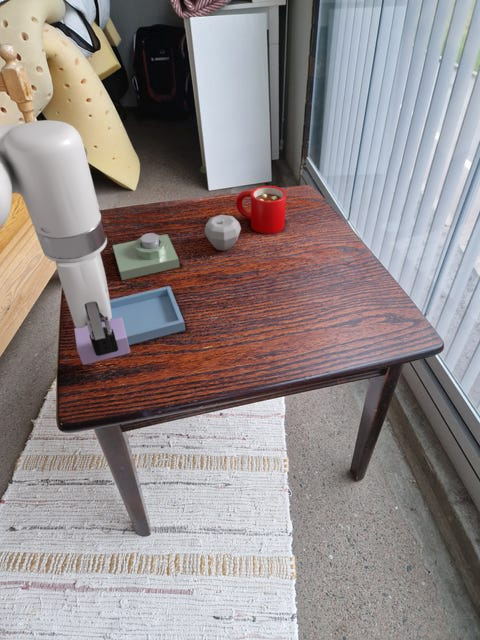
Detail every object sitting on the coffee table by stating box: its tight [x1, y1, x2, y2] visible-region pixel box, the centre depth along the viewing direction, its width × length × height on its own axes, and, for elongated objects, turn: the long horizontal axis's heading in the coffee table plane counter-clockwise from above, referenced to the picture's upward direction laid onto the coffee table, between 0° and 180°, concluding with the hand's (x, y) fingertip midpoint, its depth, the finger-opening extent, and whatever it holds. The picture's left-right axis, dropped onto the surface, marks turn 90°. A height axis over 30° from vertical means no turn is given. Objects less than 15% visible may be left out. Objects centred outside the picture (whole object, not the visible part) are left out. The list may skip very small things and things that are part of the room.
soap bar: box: [73, 317, 131, 366], centre depth 63 cm, size 7×4×4 cm, turn 111°
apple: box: [204, 214, 242, 252], centre depth 90 cm, size 8×8×7 cm
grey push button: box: [140, 232, 159, 249], centre depth 87 cm, size 4×4×2 cm
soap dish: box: [110, 285, 186, 346], centre depth 75 cm, size 13×11×2 cm
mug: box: [235, 185, 287, 235], centre depth 97 cm, size 8×12×8 cm, turn 67°
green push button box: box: [112, 233, 181, 281], centre depth 88 cm, size 12×10×4 cm
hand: (104, 339), depth 63 cm, fingers closed on soap bar, 4 cm apart
